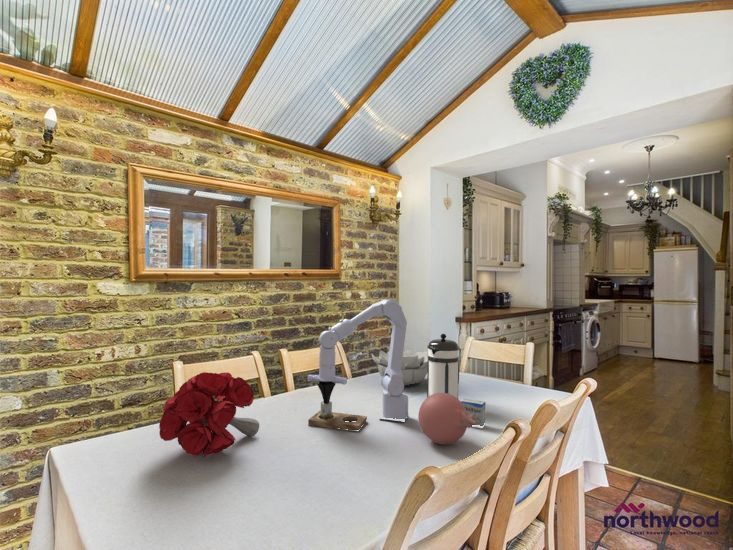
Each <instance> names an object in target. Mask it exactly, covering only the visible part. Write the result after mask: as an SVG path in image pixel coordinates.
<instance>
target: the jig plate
mask: <svg viewBox="0 0 733 550" xmlns="http://www.w3.org/2000/svg"><path fill="white" fill-rule="evenodd" d="M320 418H321V410H319V411H317V412H316V413H315V414H314V415H312V416H311V417H310V418H308V420H307V421H308V424H307V425H308V426H310V425H314V426H313V427H317V426H321V427H320V428H325V427H329V428H328V429H333V428H340V429H348V430H359V429H360V428H361V426H362V425H363V424H364V423H365V422H366V420H368V416H367V415H359V414H352V413H351V414H350V413H342V412H334V411H332V419H320ZM345 421H356V422H345ZM366 423H367V422H366ZM366 423H365V424H366ZM340 429H339V430H340ZM361 429H362V428H361ZM361 429H360V430H361ZM348 430H347V431H348ZM360 430H359V431H360Z"/></svg>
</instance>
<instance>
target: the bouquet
mask: <svg viewBox="0 0 733 550" xmlns="http://www.w3.org/2000/svg"><path fill="white" fill-rule="evenodd" d="M254 398H255V396H254V392H253V388H252V386H251V385H250V384H249V383H248V382H247V381H246V380H245V379H244V378H243V377H240V376H237V377H233V375H232V374H231V373H230V372H221V373H216V372H214V373H213V372H206V371H205V372H204V371H203V372H199V373H198V374H196V375H194V376H192V377H190V378H188V380H187V381H185V382H184V383H182V384H181V386H180V387H179V389H178V390H177V391H176V392H175V393H174V394H173V395H172V397H169V398H168V399H167V400H165V403H164V408H163V413H162V416H161V418H160V421H159V426H158V428H159V437H160V439H161V440H163V441H164V442H167V441H169V442H170V441H172V440H174V439H177V443H178V445H179V446H181V448H182V449H183V450H184V451H185V453H186V454H188V455H189V456H193V457H196V456H200V455H202V457H204V458H205V457H206V456H210V455H215V454H218V453H221V452H223V451H224V450H227V449H228V448H230V447H231V446H234V444H235V441H237V440H236V438H235V436H234V435H233V434H232V433H231V432H230V431H229V430H228V429H227V427H228V426H229V425H231V426H232V427H234V429H236V430H237V431H239V432H240V433H241V434H243V435H245V436H248V437H254V436H255V435H257V433H258V432H259V430H260V422H259V420H257V419H254V418H252V417H251V418H250V417H238V416H237V417H235V416H236V414H237V408H242V409H245V407H250V406H251V405H252V404H253V402H254Z"/></svg>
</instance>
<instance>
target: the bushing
mask: <svg viewBox="0 0 733 550" xmlns="http://www.w3.org/2000/svg"><path fill="white" fill-rule="evenodd" d="M320 411H321V418H320V419H332V412H333V402H332V401H329V403H324V401H321V402H320Z"/></svg>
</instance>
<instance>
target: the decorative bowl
mask: <svg viewBox="0 0 733 550" xmlns="http://www.w3.org/2000/svg"><path fill="white" fill-rule="evenodd" d="M389 351H390V349H389V350H388V351H387V353H386V352H385V351H383V350H380V351H379V352H378V355H379V356H378V357H376V356H375V355H374V353H371V358H372V360H373V361H374V362H375V363H376V364H377V370H378V373H379V375H380V376H381V379H382V378H383V376H384V374H385V370H386V368H387V366H388V359H389ZM401 370H402V374H403V383H404V385H408V386H410V385H409V384H413V385H416V384H419V383H421V382H422V381H423V380H425V378H426V377H427V371H428V351H423V352H421V351H417V352H414V351H413V350H411V349H407V350H405V351H403V359H402V367H401ZM415 383H416V384H415Z"/></svg>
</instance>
